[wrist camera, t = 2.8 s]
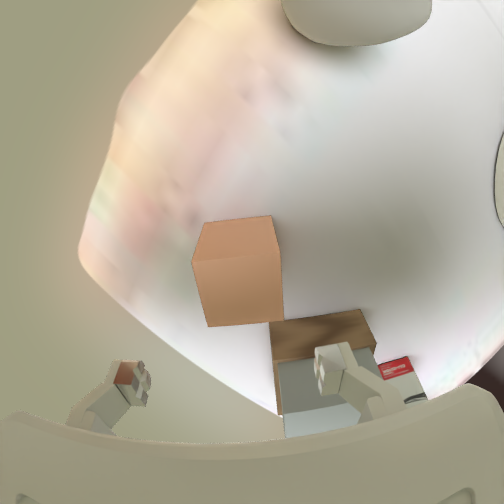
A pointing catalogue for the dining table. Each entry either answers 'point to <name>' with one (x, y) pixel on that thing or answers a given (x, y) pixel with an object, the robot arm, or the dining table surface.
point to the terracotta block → (239, 272)
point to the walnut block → (316, 338)
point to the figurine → (356, 20)
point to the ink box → (404, 381)
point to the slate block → (316, 398)
